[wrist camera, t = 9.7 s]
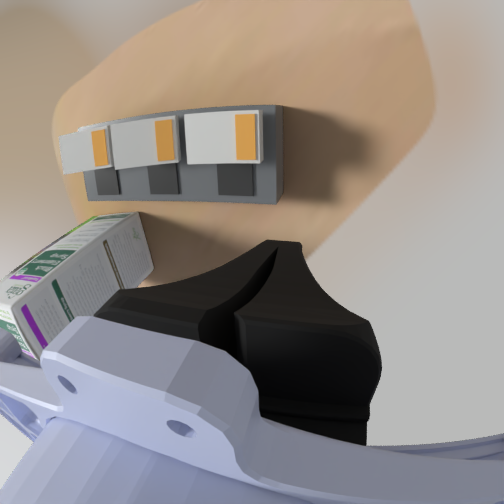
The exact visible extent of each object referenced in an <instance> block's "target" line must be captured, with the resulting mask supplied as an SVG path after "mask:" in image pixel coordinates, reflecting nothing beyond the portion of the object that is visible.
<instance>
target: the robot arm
mask: <svg viewBox="0 0 504 504" xmlns="http://www.w3.org/2000/svg"><path fill="white" fill-rule="evenodd" d="M381 371H382V362H381V355H380V351H379V347H378V344H377V340H376V337H375V335H374V332H373V329H372V327H371V324H370V322H369V321H368V320H366V319H364V318H362V317H360V316H358V315H356V314H354V313H352V312H350V311H349V310H347V309H346V308H344V307H343V306H341V305H340V304H338V303H337V302H336V301H334V300H333V299H332V298H331V297H330V296H329V295H328V294H327V293H326V292H325V291H324V290H323V289H322V288H321V287H320V285H319V284H318V283H317V281H316V280H315V278H314V277H313V275H312V273H311V272H310V270H309V268H308V266H307V264H306V261H305V259H304V256H303V253H302V245H301V243H300V242H291V241H278V240H266V241H264V242H262V243H260V244H259V245H257V246H256V247H254V248H253V249H251V250H249V251H248V252H246V253H244V254H243V255H241V256H239V257H238V258H236V259H234V260H232V261H230V262H228V263H226V264H225V265H223V266H220V267H218V268H216V269H214V270H211V271H209V272H206V273H204V274H201V275H198V276H194V277H191V278H188V279H184V280H181V281H177V282H173V283H168V284H163V285H157V286H151V287H142V288H131V289H119V290H118V291H117V292H116V293H115V294H114V295H113V296H112V297H111V298H110V299H109V300H108V301H107V302H106V303H105V304H104V305H103V306H102V307H101V308H100V309H99V310H98V311H97V312H96V313H95V314H94V316H78V317H76V318H74V319H73V320H72V321H71V322H70V323H69V324H68V325H67V326H66V327H65V328H64V329H63V330H62V331H61V332H60V333H59V334H58V335H57V336H56V337H55V338H54V339H53V340H52V342H51V343H50V344H49V345H48V346H47V347H46V348H45V349H44V350H43V352H42V355H41V357H40V361H38V360H37V359H35V358H33V357H31V356H29V355H27V354H26V353H24V352H22V349H21V347H20V345H19V343H18V341H17V340H16V338H15V337H14V336H13V335H12V334H11V333H10V332H8V331H6V330H4V329H3V328H1V327H0V414H1V415H3V416H4V417H5V418H6V419H7V420H8V421H9V422H11V423H12V424H13V425H14V426H15V427H16V428H18V429H19V430H20V431H21V432H22V433H23V434H24V435H26V436H27V437H28V438H29V439H31V440H32V441H33V442H34V443H33V444H32V446H31V447H30V448H29V450H28V451H27V452H26V454H25V455H24V456H23V458H22V459H21V461H20V462H19V464H18V465H17V466H16V468H15V469H14V471H13V472H12V474H11V475H10V476H9V478H8V479H7V481H6V482H5V484H4V485H3V487H2V489H1V490H0V504H504V433H503V434H498V435H493V436H488V437H483V438H476V439H470V440H462V441H454V442H445V443H436V444H424V445H423V444H422V445H404V446H403V445H401V446H366V440H367V421H368V420H369V416H370V402H371V400H372V397H373V395H374V393H375V390H376V388H377V385H378V383H379V380H380V377H381Z"/></svg>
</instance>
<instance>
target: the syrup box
mask: <svg viewBox="0 0 504 504" xmlns="http://www.w3.org/2000/svg"><path fill="white" fill-rule="evenodd" d="M153 269H154V266H153V262H152V259H151V255H150V251H149V248H148V244H147V241H146V237H145V234H144V230H143V227H142V223H141V220H140V216H139V213H138V212H128V213H116V214H108V215H101V216H94V217H92V218H90V219H88V220H87V221H85V222H84V223H82V224H80V225H79V226H77V227H76V228H74V229H73V230H71V231H69V232H68V233H67V234H65V235H63V236H62V237H60V238H59V239H57V240H56V241H54V242H52V243H51V244H50V245H48V246H47V247H45V248H44V249H42V250H41V251H40V252H38V253H37V254H35V255H34V256H32V257H31V258H29V259H28V260H27V261H25V262H24V263H23V264H22V265H20V266H19V267H17V268H16V269H14V270H13V271H12V272H11V273H9V274H8V275H6V276H5V277H4V278H3V279H1V280H0V327H1V328H3V329H4V330H6V331H8V332H10V333H11V334H12V335H13V336H14V337H15V338H16V340H17V341H18V343H19V345H20V347H21V349H22V352H24V353H26V354H27V355H29V356H31V357H33V358H35V359H37V360H38V361H40V357H41V355H42V352H43V350H44V349H45V348H46V347H47V346H48V345H49V344H50V343H51V342H52V340H53V339H54V338H55V337H56V336H57V335H58V334H59V333H60V332H61V331H62V330H63V329H64V328H65V327H66V326H67V325H68V324H69V323H70V322H71V321H72V320H73V319H74V318H76V317H78V316H94V314H95V313H96V312H97V311H98V310H99V309H100V308H101V307H102V306H103V305H104V304H105V303H106V302H107V301H108V300H109V299H110V298H111V297H112V296H113V295H114V294H115V293H116V292H117V291H118V290H119V289H131V288H137V287H138V286H139V285H140V284H141V282H142V281H143V280H144V279H145V278H146V277H147V276H148V275H149V274H150V273H151V272H152V271H153Z"/></svg>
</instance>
